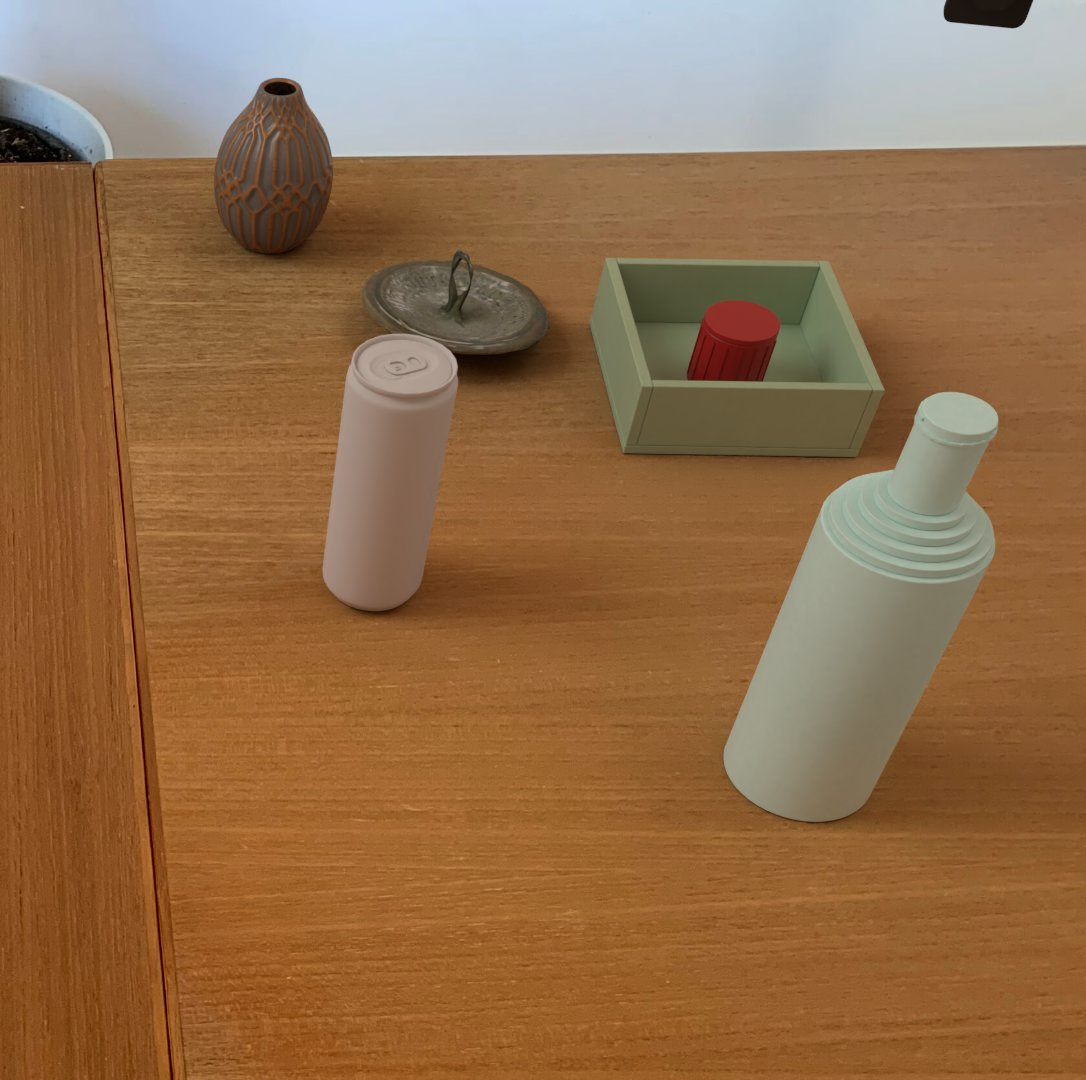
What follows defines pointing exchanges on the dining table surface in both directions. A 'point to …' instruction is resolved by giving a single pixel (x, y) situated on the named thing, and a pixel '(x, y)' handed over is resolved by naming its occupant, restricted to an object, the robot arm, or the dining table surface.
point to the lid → (456, 305)
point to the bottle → (866, 621)
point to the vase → (273, 170)
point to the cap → (734, 343)
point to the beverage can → (388, 469)
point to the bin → (732, 406)
